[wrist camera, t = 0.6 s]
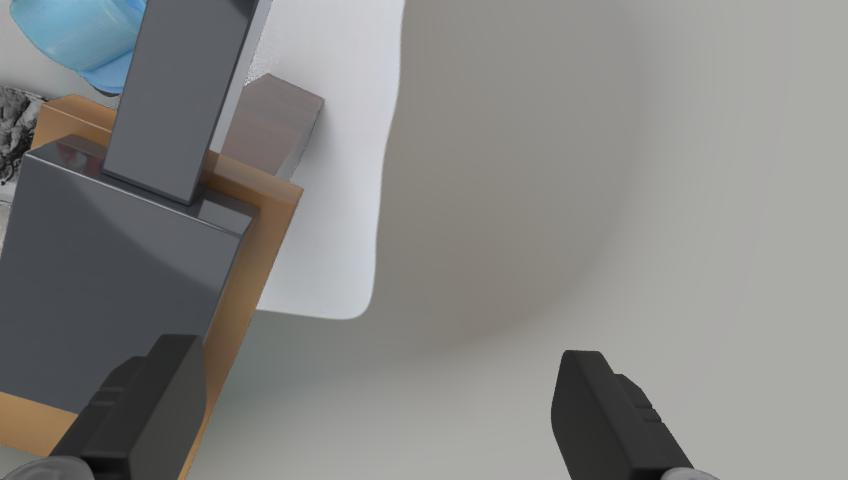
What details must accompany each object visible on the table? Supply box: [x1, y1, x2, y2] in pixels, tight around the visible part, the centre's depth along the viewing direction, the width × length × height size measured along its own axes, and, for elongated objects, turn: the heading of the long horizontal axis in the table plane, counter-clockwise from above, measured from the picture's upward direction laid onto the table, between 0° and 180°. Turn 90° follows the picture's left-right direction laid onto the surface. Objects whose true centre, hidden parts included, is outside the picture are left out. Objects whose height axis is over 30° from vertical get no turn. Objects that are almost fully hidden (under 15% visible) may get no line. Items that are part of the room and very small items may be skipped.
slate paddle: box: [0, 0, 273, 415], centre depth 16 cm, size 17×6×2 cm, turn 155°
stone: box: [0, 86, 51, 206], centre depth 47 cm, size 22×3×10 cm
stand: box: [0, 73, 324, 480], centre depth 34 cm, size 14×8×31 cm, turn 155°
